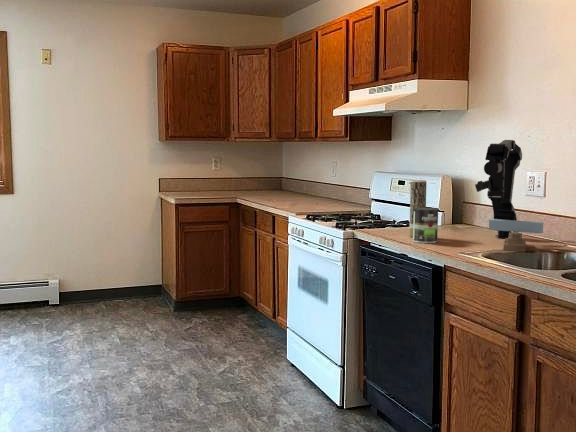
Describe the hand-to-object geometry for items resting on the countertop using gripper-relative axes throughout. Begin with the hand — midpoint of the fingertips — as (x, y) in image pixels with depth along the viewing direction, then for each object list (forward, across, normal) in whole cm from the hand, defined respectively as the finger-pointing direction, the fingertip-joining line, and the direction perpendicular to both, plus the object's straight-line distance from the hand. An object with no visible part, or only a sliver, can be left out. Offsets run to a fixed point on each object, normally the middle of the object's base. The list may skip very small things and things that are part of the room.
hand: (495, 212), depth 260 cm
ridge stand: (+13, +7, +8) cm, 17 cm away
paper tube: (+13, -6, -33) cm, 36 cm away
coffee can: (+13, +5, -28) cm, 31 cm away
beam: (+6, +7, +8) cm, 13 cm away
